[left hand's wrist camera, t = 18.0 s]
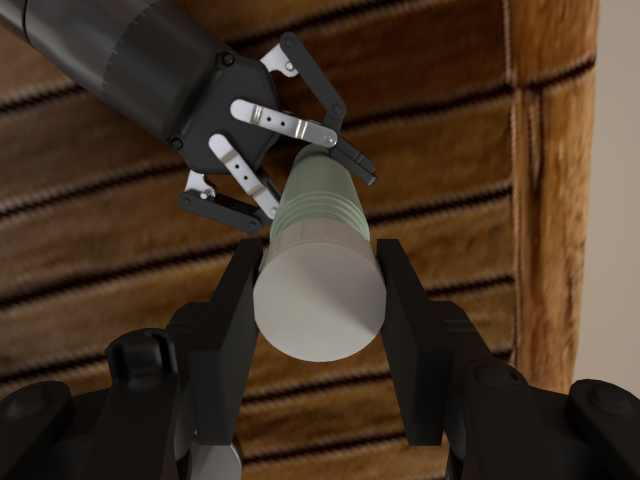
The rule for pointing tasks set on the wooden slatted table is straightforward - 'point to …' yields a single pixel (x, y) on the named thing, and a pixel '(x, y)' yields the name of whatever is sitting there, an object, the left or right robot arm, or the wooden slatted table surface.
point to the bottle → (319, 193)
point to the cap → (319, 291)
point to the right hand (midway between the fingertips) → (349, 208)
